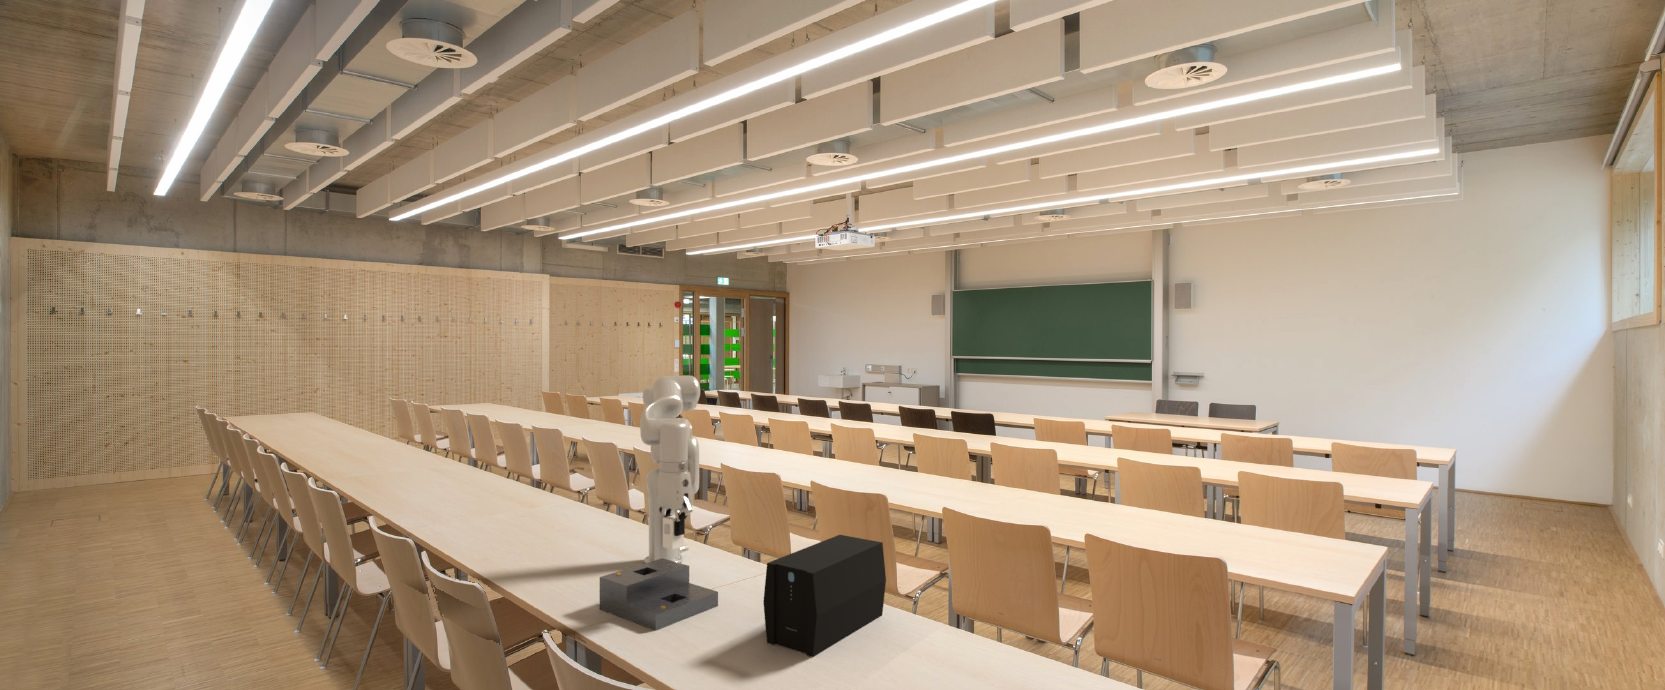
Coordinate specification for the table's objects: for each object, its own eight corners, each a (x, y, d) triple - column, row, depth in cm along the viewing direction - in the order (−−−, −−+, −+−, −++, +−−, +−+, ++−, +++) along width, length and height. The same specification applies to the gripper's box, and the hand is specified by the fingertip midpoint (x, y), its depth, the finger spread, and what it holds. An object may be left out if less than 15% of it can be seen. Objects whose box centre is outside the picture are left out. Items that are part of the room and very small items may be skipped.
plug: (674, 543, 203) (674, 514, 203) (683, 546, 201) (684, 517, 201) (661, 547, 200) (661, 517, 200) (671, 549, 197) (671, 520, 197)
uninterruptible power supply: (763, 642, 182) (763, 561, 181) (839, 602, 209) (839, 532, 209) (816, 658, 172) (817, 574, 172) (889, 614, 200) (889, 541, 200)
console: (662, 587, 220) (662, 557, 220) (718, 605, 206) (718, 572, 206) (599, 609, 203) (599, 575, 203) (655, 630, 188) (655, 594, 188)
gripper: (704, 468, 198) (704, 535, 198) (664, 462, 208) (664, 526, 208) (683, 472, 192) (683, 541, 192) (643, 465, 202) (643, 531, 202)
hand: (673, 532), depth 200 cm, fingers closed on plug, 4 cm apart
